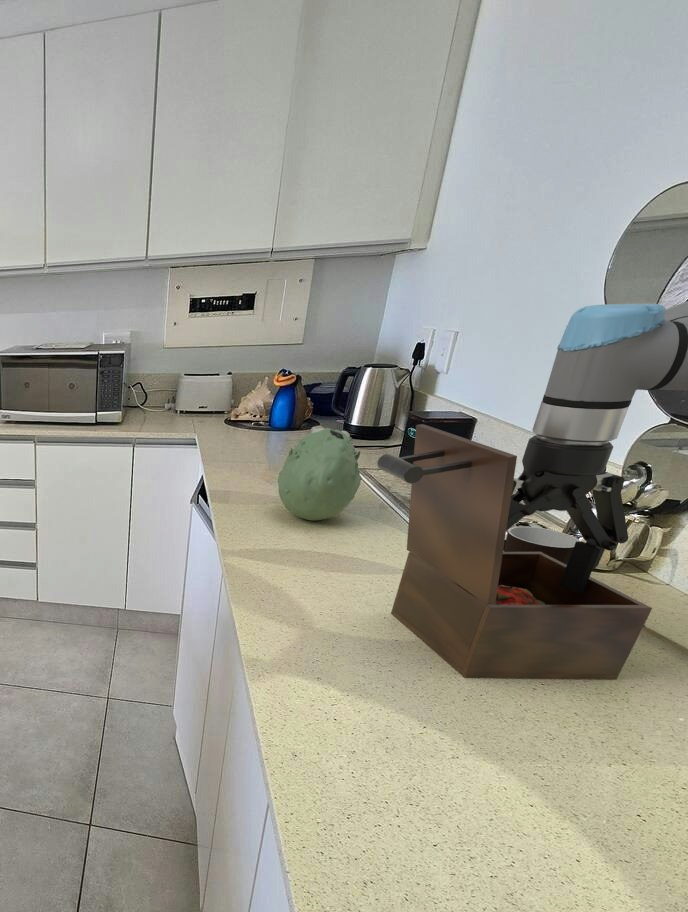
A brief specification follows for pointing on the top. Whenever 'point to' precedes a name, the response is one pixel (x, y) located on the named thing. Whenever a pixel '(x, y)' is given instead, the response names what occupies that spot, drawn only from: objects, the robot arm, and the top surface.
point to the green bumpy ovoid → (320, 474)
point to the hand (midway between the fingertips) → (517, 589)
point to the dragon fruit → (515, 596)
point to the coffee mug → (540, 542)
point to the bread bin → (521, 622)
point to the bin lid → (457, 506)
